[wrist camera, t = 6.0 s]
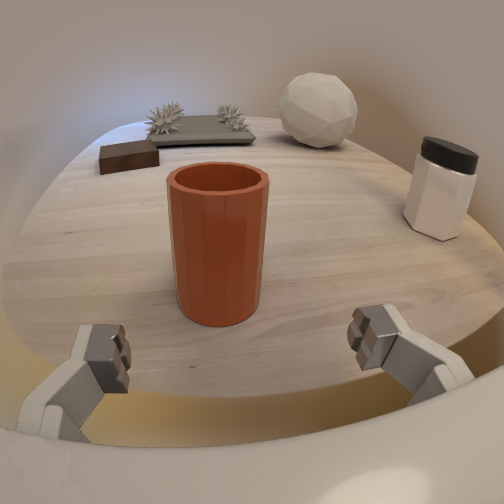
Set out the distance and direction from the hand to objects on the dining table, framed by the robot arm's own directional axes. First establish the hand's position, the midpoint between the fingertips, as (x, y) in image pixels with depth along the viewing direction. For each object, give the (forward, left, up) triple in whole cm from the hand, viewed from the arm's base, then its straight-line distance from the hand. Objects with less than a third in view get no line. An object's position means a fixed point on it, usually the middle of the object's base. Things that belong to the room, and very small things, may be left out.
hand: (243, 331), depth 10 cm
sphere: (+44, +57, -9) cm, 73 cm away
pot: (+3, +11, -8) cm, 14 cm away
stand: (-1, +54, -8) cm, 55 cm away
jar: (+35, +14, -9) cm, 39 cm away
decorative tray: (+19, +76, -9) cm, 79 cm away
